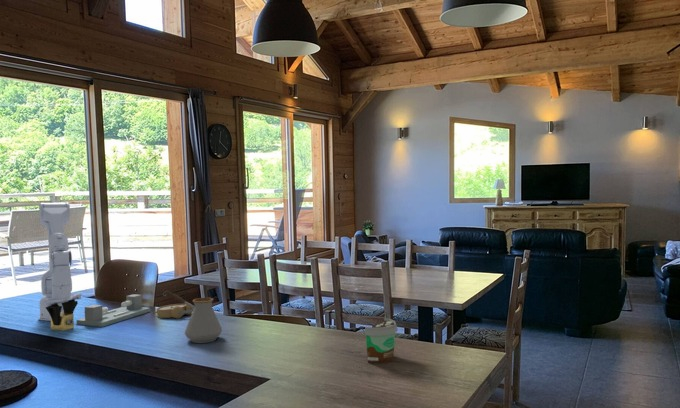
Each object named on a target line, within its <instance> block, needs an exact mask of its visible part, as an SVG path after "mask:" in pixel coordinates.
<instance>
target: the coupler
mask: <svg viewBox="0 0 680 408" xmlns="http://www.w3.org/2000/svg"><path fill="white" fill-rule="evenodd" d="M73 315H74V313H73V314H72V313H60V325H58V326H56V325H53V321H52V318H51V321H50V330H55V331H62V332H64V331H68V330H70V329H75V328H74V327H75V326H74V317H73Z"/></svg>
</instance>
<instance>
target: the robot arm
mask: <svg viewBox="0 0 680 408" xmlns="http://www.w3.org/2000/svg"><path fill="white" fill-rule="evenodd" d="M70 207H71V206H70V203H69V202H68V201H65V202H40V203H39V210H38V212H39V223H40V225H41V226H42V227H45V228H46V231H47V238H48V241H47V242H48V243H47V244H48V261H49V265H48V266H49V269H48V270H47V271H45V272H44V273H43V274H42V276H41V286H40V287H41V295H42V297H41V298H40V301H39V317H38V318H37V320H38V321H48V322H51V318H52V321H53V325H56V326H58V325H60V313H72V314H73V318H74V312H75V309H76V307H77V305H78V304H79V303H78V300H81V299H82V293H77V292H76V293H73V294H72V291H73V280H72V274H71V267H72V264H73V254H72V251H71V248H70V247H69V239H68V236H67V235H66V234H64V226H67V225H68V223H69V220H70V216H71V209H70Z"/></svg>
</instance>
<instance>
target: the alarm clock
mask: <svg viewBox="0 0 680 408" xmlns="http://www.w3.org/2000/svg"><path fill="white" fill-rule="evenodd" d="M193 310H194V309H193V308H191V307H189V306H188V305H186V304H185V303H175V304H174V303H173V304H168V305H163V306H159V307H157V308H156V311H154V312H153V313H154V314H156V315H157V318H158V317H159V318H160V319H167V318H172V319H175V318H176V319H177V318H178V319H181V318H182V317H183V316H184V315H187V316H189V315H188V314H190V315H192V312H193ZM159 318H158V319H159ZM178 319H177V320H178Z"/></svg>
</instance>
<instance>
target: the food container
mask: <svg viewBox="0 0 680 408" xmlns="http://www.w3.org/2000/svg"><path fill="white" fill-rule="evenodd" d="M383 320H384V321H382V322H381V323H380V322H379V323H376V324H374V325H373V326H370V327H369V326H365V330H364V335H365V339H366V340H365V341H366V354H367V355H366V357H367V358H366V359H367V363H368V364H386V363H387V364H388V363H390V362H393V360H394V355H395V354H394V353H395V343H396V342H395V339H396V333H397V332H398V326H397V323H396V321H395V320H394V319H391V318H387V317H384V319H383Z"/></svg>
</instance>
